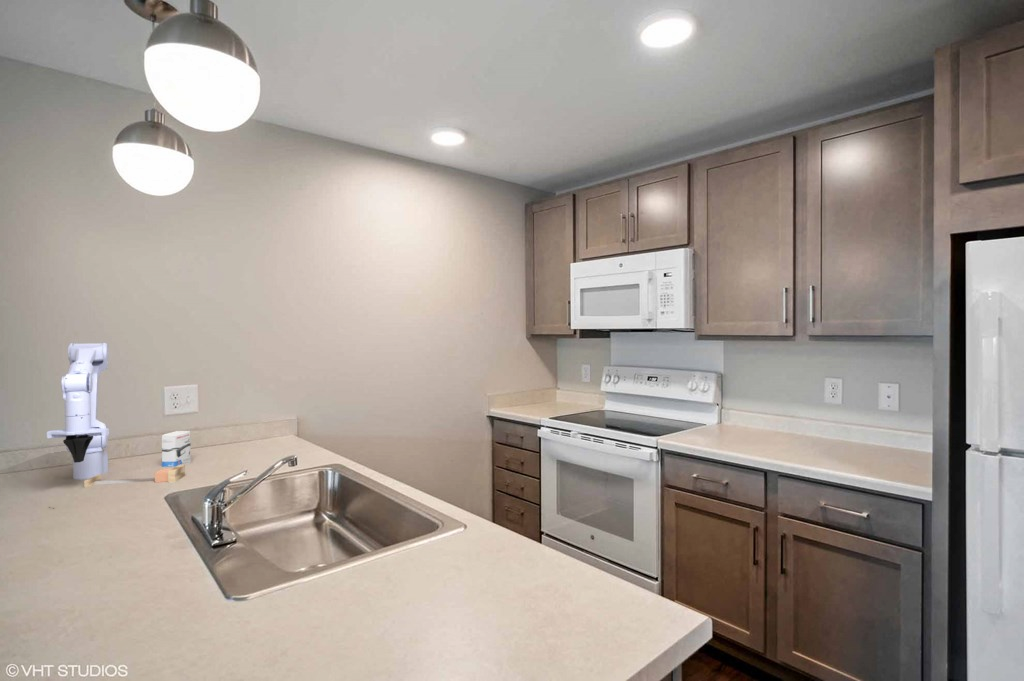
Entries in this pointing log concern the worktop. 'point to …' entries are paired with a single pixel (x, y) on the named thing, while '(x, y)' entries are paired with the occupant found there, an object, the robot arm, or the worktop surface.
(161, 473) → the block
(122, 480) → the rail board
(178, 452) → the ink box
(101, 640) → the worktop surface
